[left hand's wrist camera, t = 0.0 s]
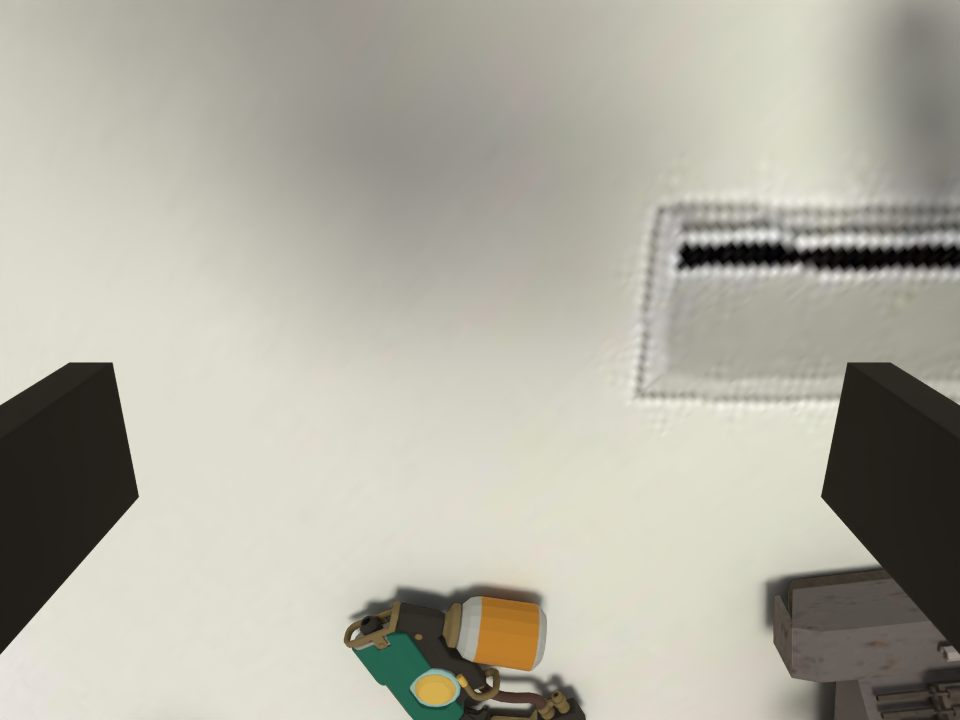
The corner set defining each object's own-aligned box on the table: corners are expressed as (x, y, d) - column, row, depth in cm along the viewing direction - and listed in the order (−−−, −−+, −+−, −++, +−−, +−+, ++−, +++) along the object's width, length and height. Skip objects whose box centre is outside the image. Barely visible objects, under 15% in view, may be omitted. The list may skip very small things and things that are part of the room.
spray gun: (589, 730, 53) (400, 752, 54) (556, 561, 46) (343, 591, 48) (596, 784, 49) (393, 805, 50) (562, 608, 42) (329, 639, 44)
